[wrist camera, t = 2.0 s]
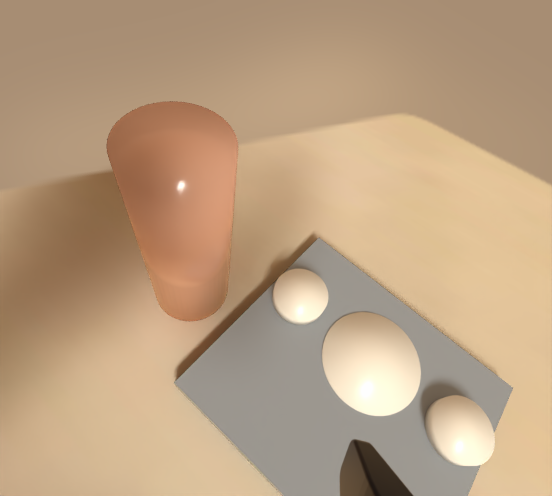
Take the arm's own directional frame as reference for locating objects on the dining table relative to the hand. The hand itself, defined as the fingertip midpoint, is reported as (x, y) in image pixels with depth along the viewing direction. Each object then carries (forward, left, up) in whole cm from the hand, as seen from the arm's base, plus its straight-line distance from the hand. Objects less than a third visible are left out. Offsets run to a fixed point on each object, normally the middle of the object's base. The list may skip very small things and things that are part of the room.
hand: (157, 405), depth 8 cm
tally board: (+8, -5, -14) cm, 17 cm away
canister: (+6, +7, -14) cm, 17 cm away
